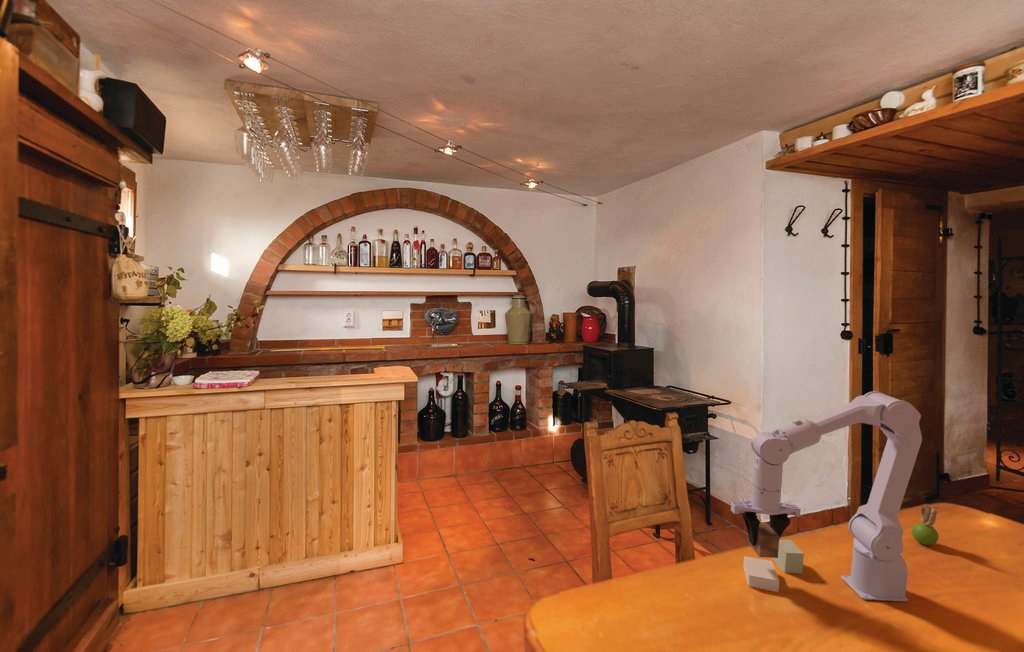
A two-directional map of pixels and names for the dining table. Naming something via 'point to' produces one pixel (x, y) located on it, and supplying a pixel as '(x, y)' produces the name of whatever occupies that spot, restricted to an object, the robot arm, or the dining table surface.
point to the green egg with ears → (926, 527)
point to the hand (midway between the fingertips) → (762, 543)
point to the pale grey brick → (761, 574)
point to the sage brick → (789, 557)
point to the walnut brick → (766, 542)
